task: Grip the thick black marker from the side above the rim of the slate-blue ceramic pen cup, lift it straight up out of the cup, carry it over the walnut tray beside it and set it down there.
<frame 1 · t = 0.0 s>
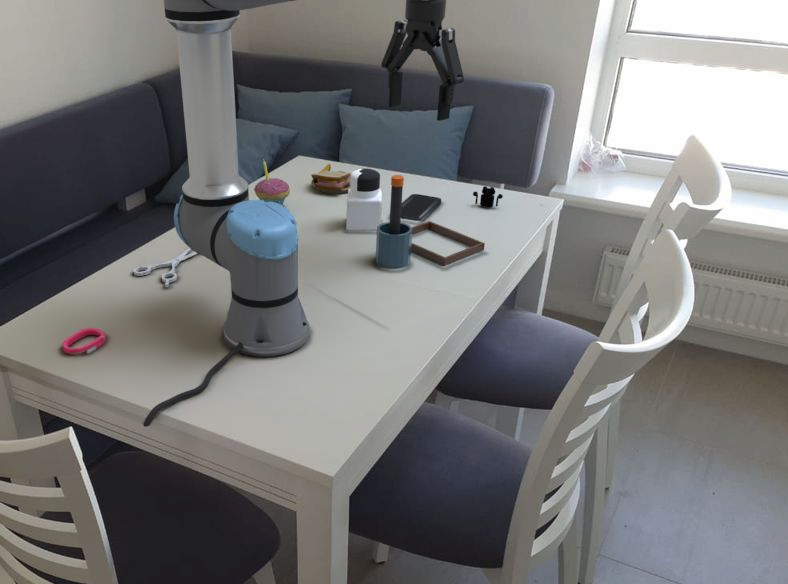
hand: (418, 112, 162), 28 cm above the table, tool pointing down, fingers open, 13 cm apart
toy sandwich meal: (335, 187, 207), on the table
container: (363, 227, 185), on the table
pen cup: (392, 264, 167), on the table
cupcake: (273, 208, 195), on the table
marker: (392, 260, 167), point 1 cm above the table, touching pen cup
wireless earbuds: (486, 207, 193), on the table
phone: (415, 211, 192), on the table
fitness band: (85, 345, 142), on the table
scissors: (176, 264, 169), on the table
tray: (436, 249, 173), on the table
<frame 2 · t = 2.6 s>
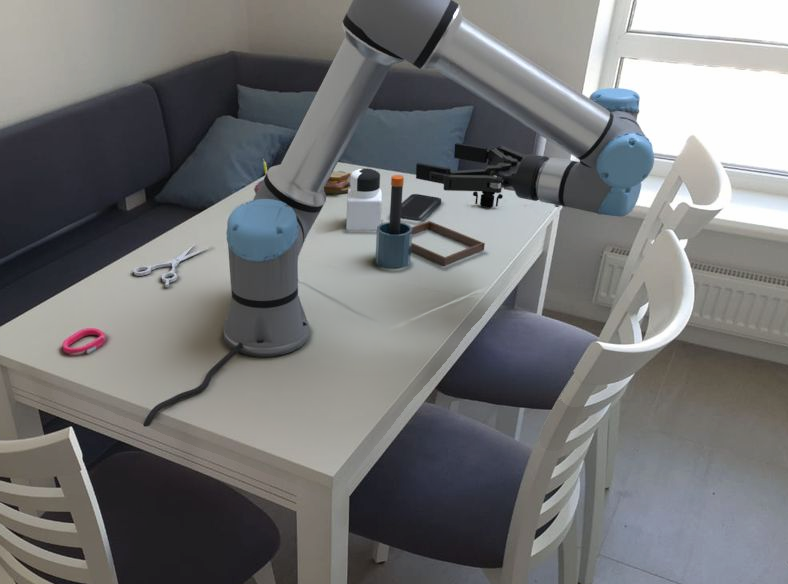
hand: (436, 160, 149), 24 cm above the table, tool horizontal, fingers open, 13 cm apart
nothing on the table moved.
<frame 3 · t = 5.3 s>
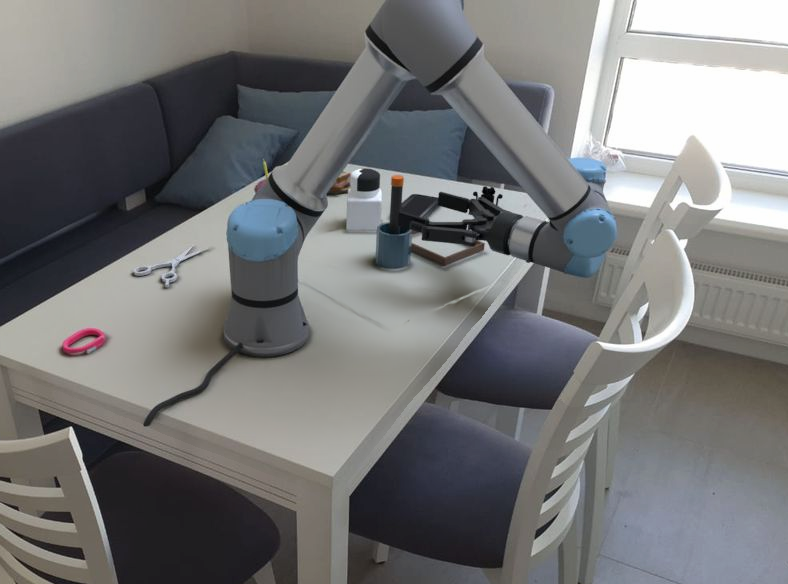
hand: (419, 208, 157), 14 cm above the table, tool horizontal, fingers open, 13 cm apart
nothing on the table moved.
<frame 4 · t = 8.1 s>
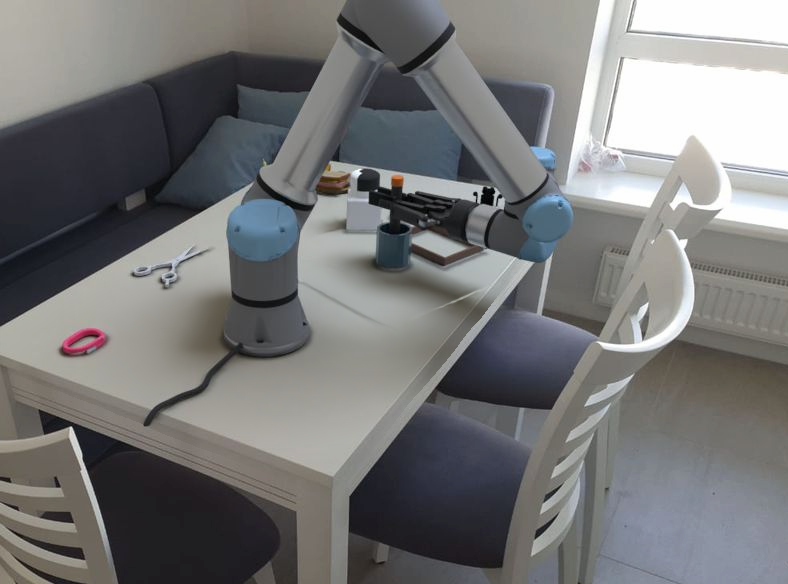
hand: (374, 195, 163), 14 cm above the table, tool horizontal, fingers closed on marker, 2 cm apart
marker: (392, 260, 167), point 1 cm above the table, touching gripper, pen cup
everything else where it was.
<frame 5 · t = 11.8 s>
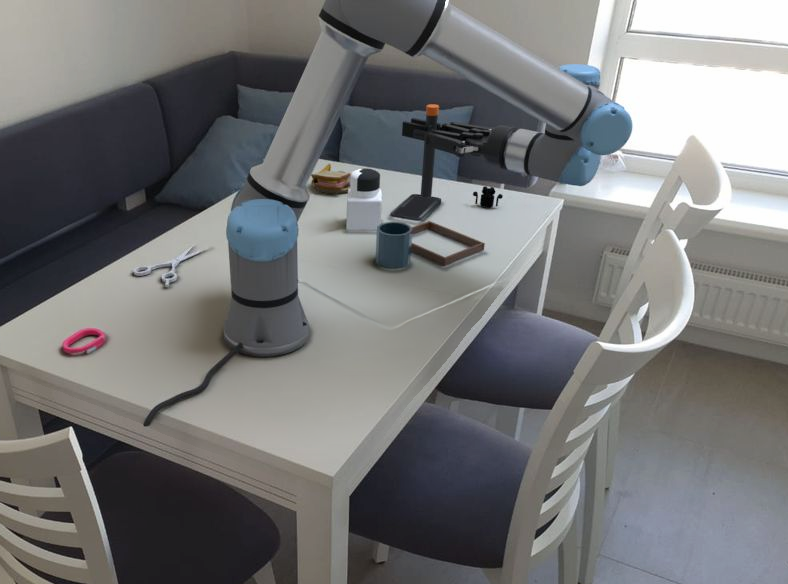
hand: (407, 126, 160), 26 cm above the table, tool horizontal, fingers closed on marker, 2 cm apart
marker: (425, 195, 164), point 13 cm above the table, touching gripper
everything else where it was.
when the fingers open (14 cm above the table, at t = 15.8 s): marker stays where it is, resting on tray.
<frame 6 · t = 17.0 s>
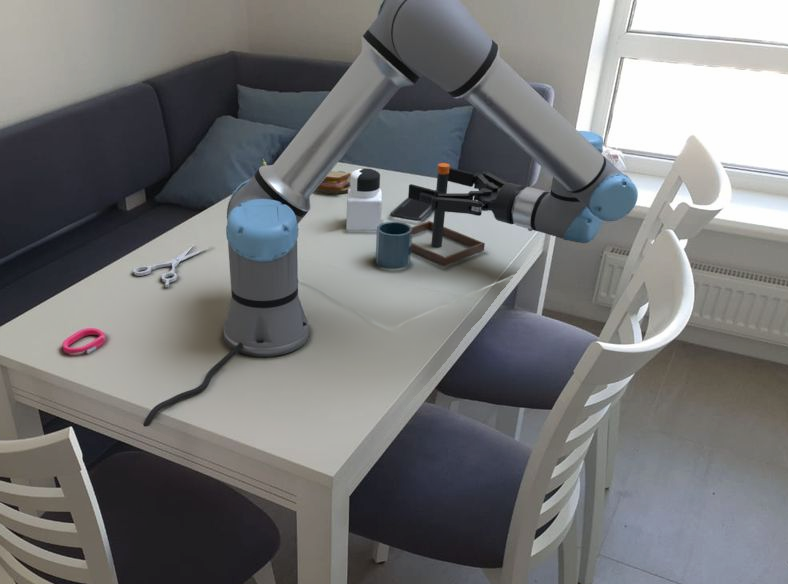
hand: (428, 182, 167), 14 cm above the table, tool horizontal, fingers open, 13 cm apart
marker: (436, 246, 173), point 1 cm above the table, touching tray
everything else where it was.
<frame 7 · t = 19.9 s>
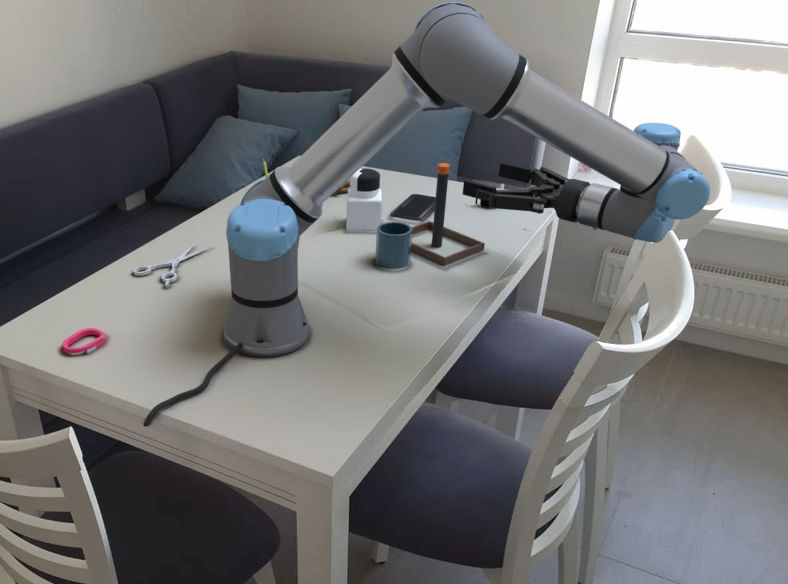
hand: (482, 178, 158), 18 cm above the table, tool horizontal, fingers open, 13 cm apart
nothing on the table moved.
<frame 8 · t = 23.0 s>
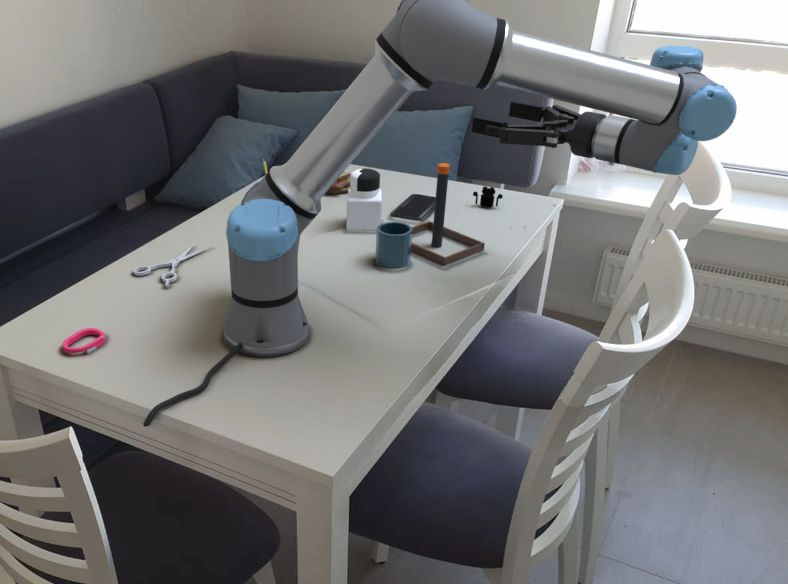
hand: (492, 116, 151), 30 cm above the table, tool horizontal, fingers open, 13 cm apart
nothing on the table moved.
at the end: marker inside the target area on the tray (0.0 cm from its centre), point 0.6 cm above the tray's base; the gripper is holding nothing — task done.
